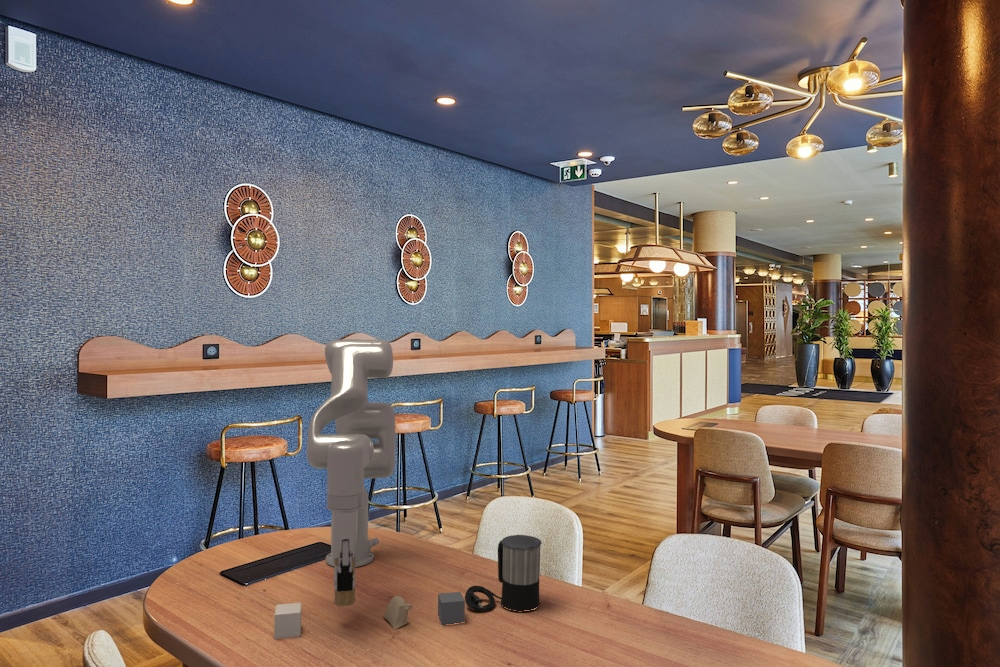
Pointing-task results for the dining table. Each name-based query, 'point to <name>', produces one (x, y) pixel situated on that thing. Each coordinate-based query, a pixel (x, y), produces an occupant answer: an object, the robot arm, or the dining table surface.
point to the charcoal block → (451, 608)
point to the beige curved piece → (397, 612)
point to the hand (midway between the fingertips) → (344, 584)
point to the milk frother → (513, 575)
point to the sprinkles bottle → (344, 596)
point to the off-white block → (287, 620)
